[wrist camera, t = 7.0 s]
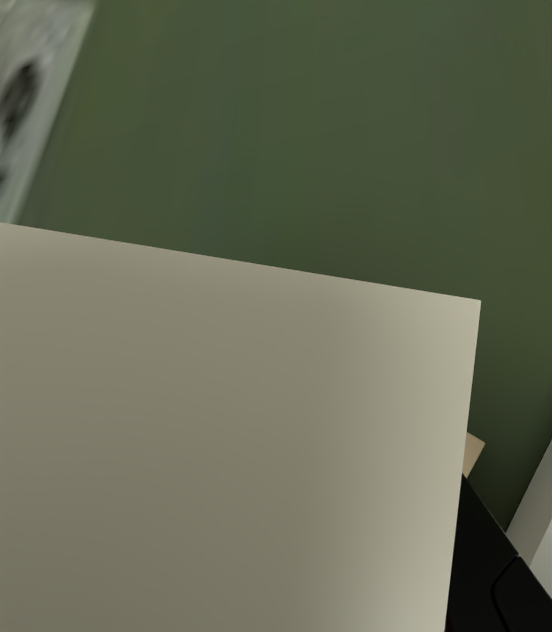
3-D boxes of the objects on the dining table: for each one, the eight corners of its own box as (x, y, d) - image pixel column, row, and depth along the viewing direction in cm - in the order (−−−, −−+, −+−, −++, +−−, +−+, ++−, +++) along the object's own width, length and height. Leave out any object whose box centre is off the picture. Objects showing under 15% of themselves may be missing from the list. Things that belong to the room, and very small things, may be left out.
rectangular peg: (362, 551, 14) (429, 850, 2) (223, 509, 15) (-216, 566, 3) (379, 449, 15) (489, 295, 3) (248, 417, 16) (-21, 213, 4)
